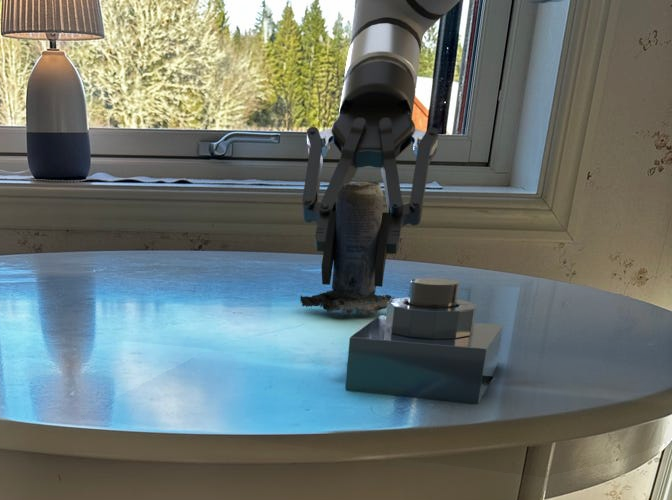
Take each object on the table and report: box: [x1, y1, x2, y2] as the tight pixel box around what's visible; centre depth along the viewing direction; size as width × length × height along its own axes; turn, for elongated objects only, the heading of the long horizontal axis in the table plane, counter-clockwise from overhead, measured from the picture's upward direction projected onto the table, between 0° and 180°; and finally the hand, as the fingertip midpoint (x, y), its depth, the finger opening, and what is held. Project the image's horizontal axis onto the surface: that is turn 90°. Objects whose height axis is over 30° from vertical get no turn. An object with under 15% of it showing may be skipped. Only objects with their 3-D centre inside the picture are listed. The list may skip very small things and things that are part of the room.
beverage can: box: [299, 180, 398, 317], centre depth 96 cm, size 9×8×12 cm
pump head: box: [408, 277, 460, 309], centre depth 72 cm, size 4×4×2 cm
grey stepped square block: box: [344, 296, 504, 405], centre depth 74 cm, size 10×10×6 cm
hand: (352, 276), depth 93 cm, fingers closed on beverage can, 4 cm apart
